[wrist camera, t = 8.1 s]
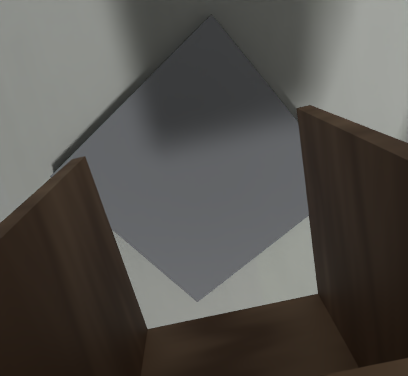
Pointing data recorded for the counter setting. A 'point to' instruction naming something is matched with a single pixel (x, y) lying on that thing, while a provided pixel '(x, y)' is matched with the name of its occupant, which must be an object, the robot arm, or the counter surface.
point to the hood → (228, 322)
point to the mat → (200, 164)
